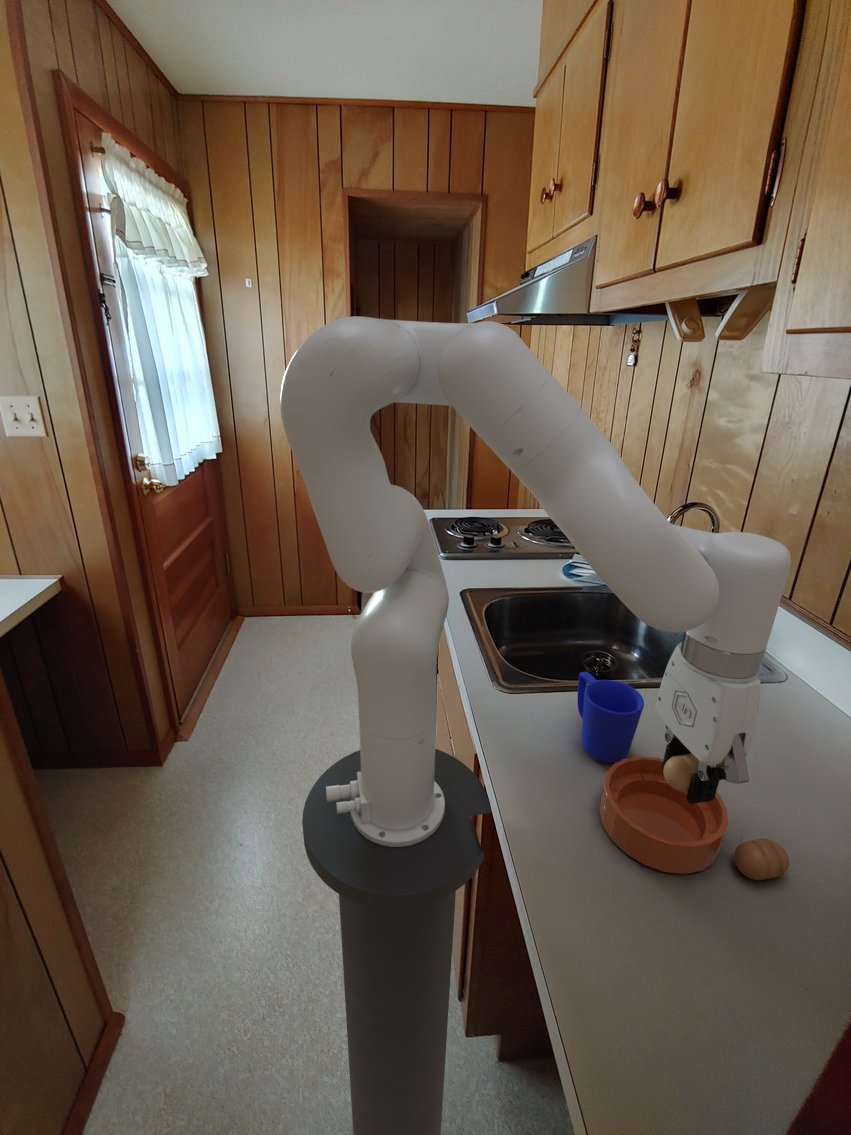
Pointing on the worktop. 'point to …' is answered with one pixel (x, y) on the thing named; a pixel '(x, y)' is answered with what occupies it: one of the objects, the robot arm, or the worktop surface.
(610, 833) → the bowl
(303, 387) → the robot arm
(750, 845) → the egg dark
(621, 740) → the mug
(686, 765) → the egg light
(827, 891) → the worktop surface
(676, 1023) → the worktop surface
